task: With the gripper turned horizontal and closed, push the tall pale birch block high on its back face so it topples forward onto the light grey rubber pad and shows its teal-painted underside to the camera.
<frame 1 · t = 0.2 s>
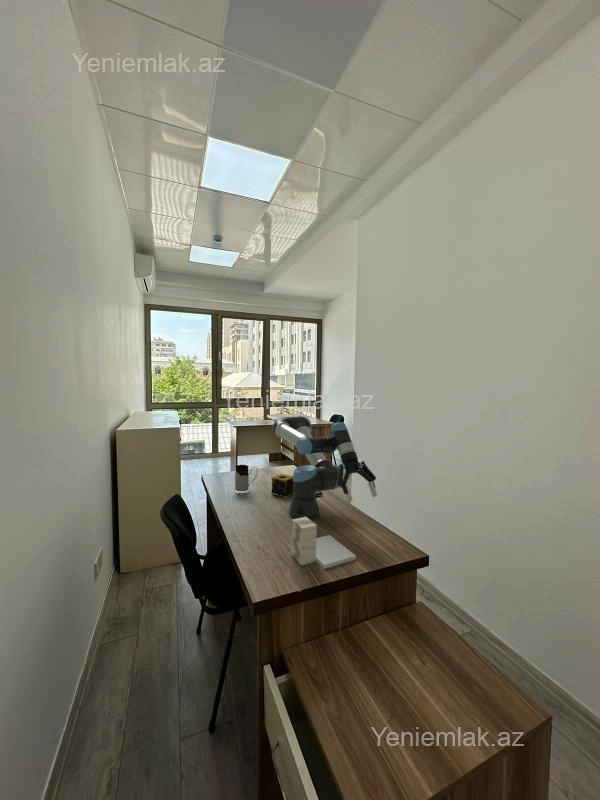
hand: (363, 498, 143), 15 cm above the table, tool tilted 35°, fingers open, 13 cm apart
birch block: (303, 558, 122), on the table
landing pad: (326, 552, 127), on the table
glass mug: (246, 490, 196), on the table
candle: (283, 493, 192), on the table
multiport hub: (310, 497, 188), on the table
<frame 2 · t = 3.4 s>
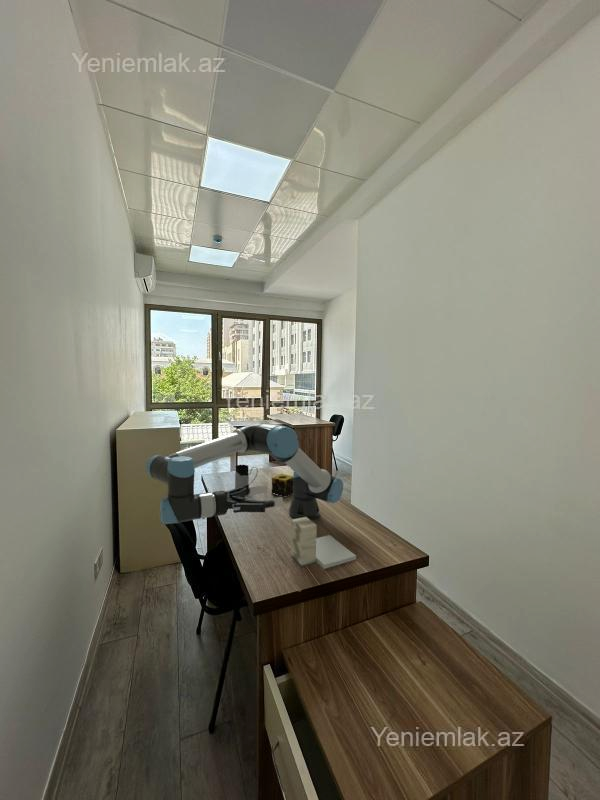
hand: (274, 494, 114), 26 cm above the table, tool horizontal, fingers open, 13 cm apart
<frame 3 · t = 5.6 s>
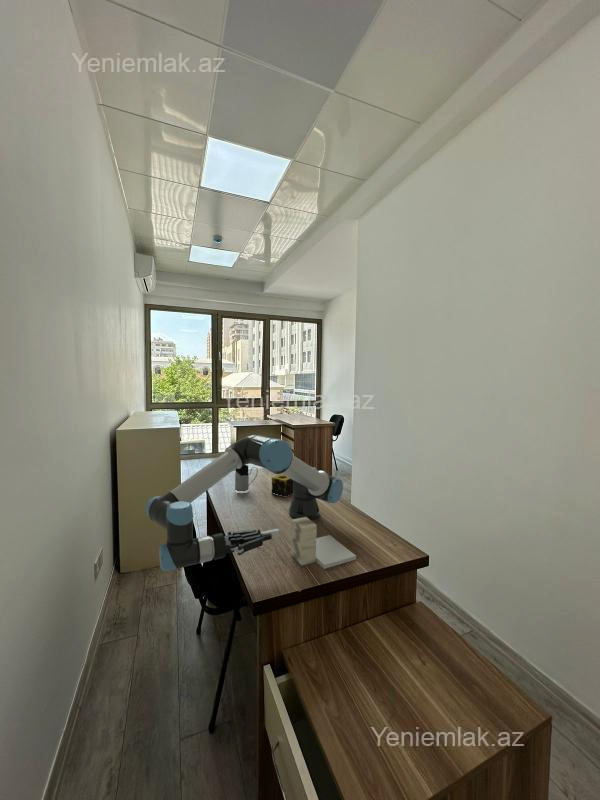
hand: (278, 533, 116), 12 cm above the table, tool horizontal, fingers closed
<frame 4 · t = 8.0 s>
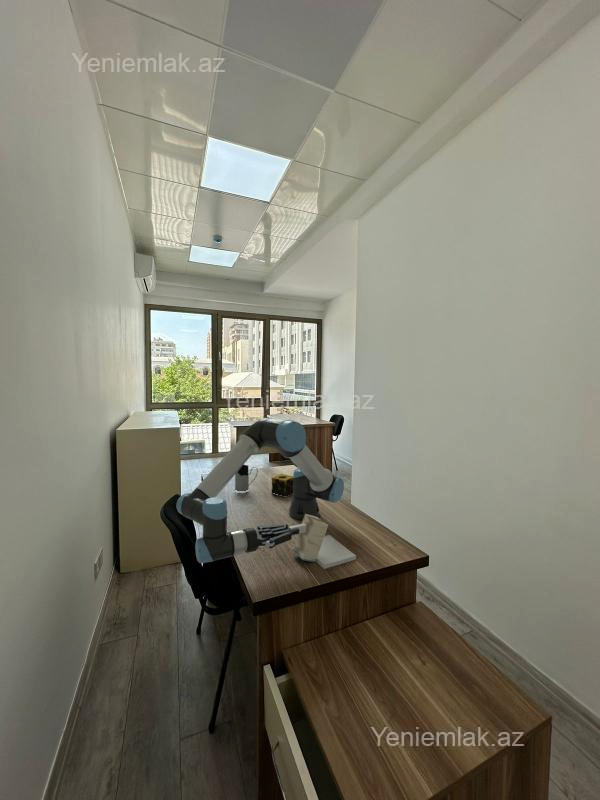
hand: (305, 527, 121), 12 cm above the table, tool horizontal, fingers closed
birch block: (303, 555, 122), point 1 cm above the table, tilted 22°, touching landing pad
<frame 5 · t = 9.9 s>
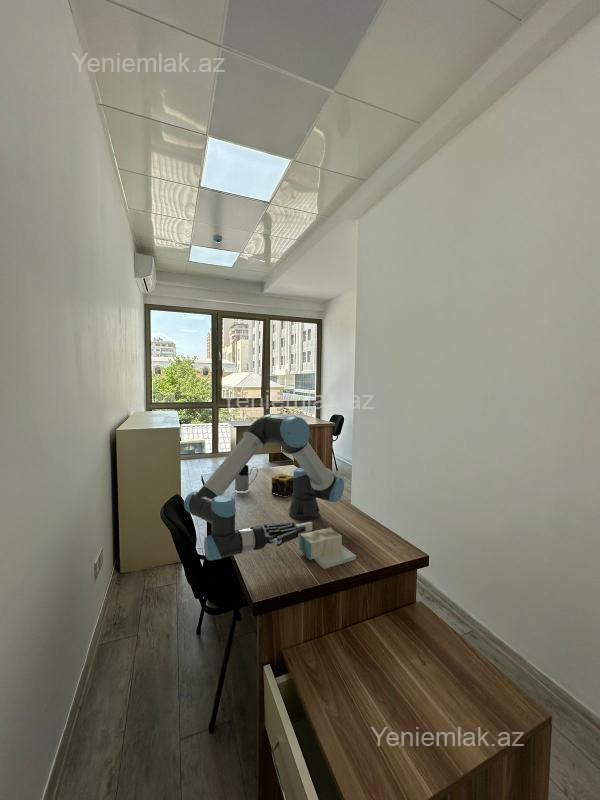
hand: (311, 525, 123), 12 cm above the table, tool horizontal, fingers closed
birch block: (304, 546, 122), point 4 cm above the table, tilted 90°, touching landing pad
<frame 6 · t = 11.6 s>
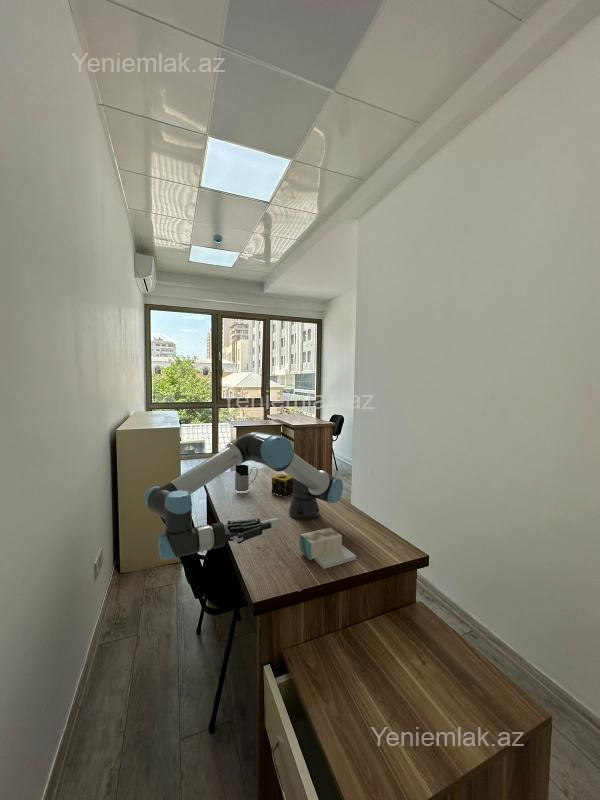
hand: (278, 522, 116), 16 cm above the table, tool horizontal, fingers closed
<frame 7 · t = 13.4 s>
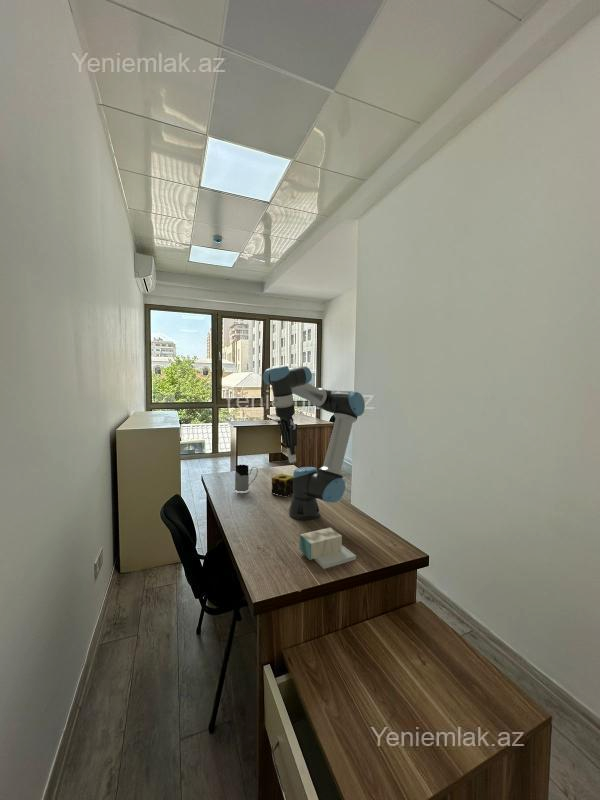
hand: (292, 461, 133), 33 cm above the table, tool pointing down, fingers closed
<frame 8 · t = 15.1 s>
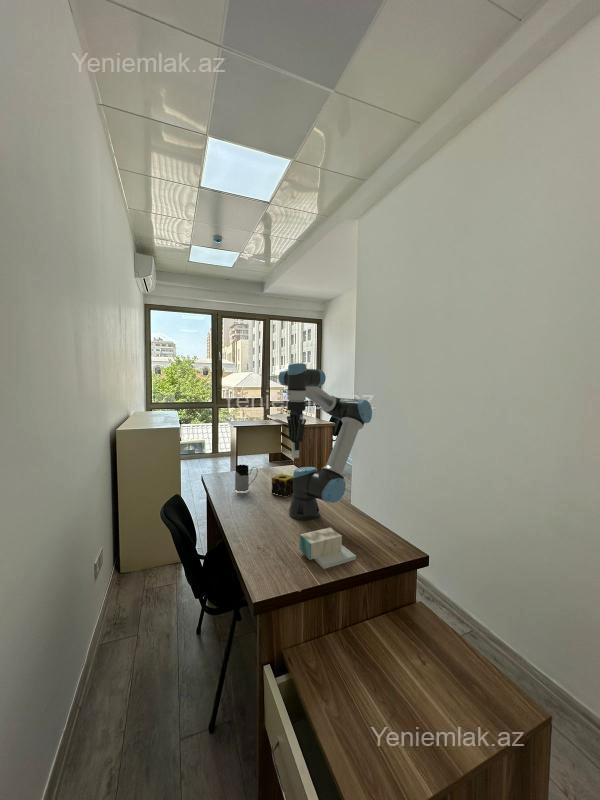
hand: (295, 457, 136), 34 cm above the table, tool pointing down, fingers closed
at the end: birch block tilted 90°; birch block inside the target area (2.6 cm from its centre), point 4.5 cm above the table; birch block touching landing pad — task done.
